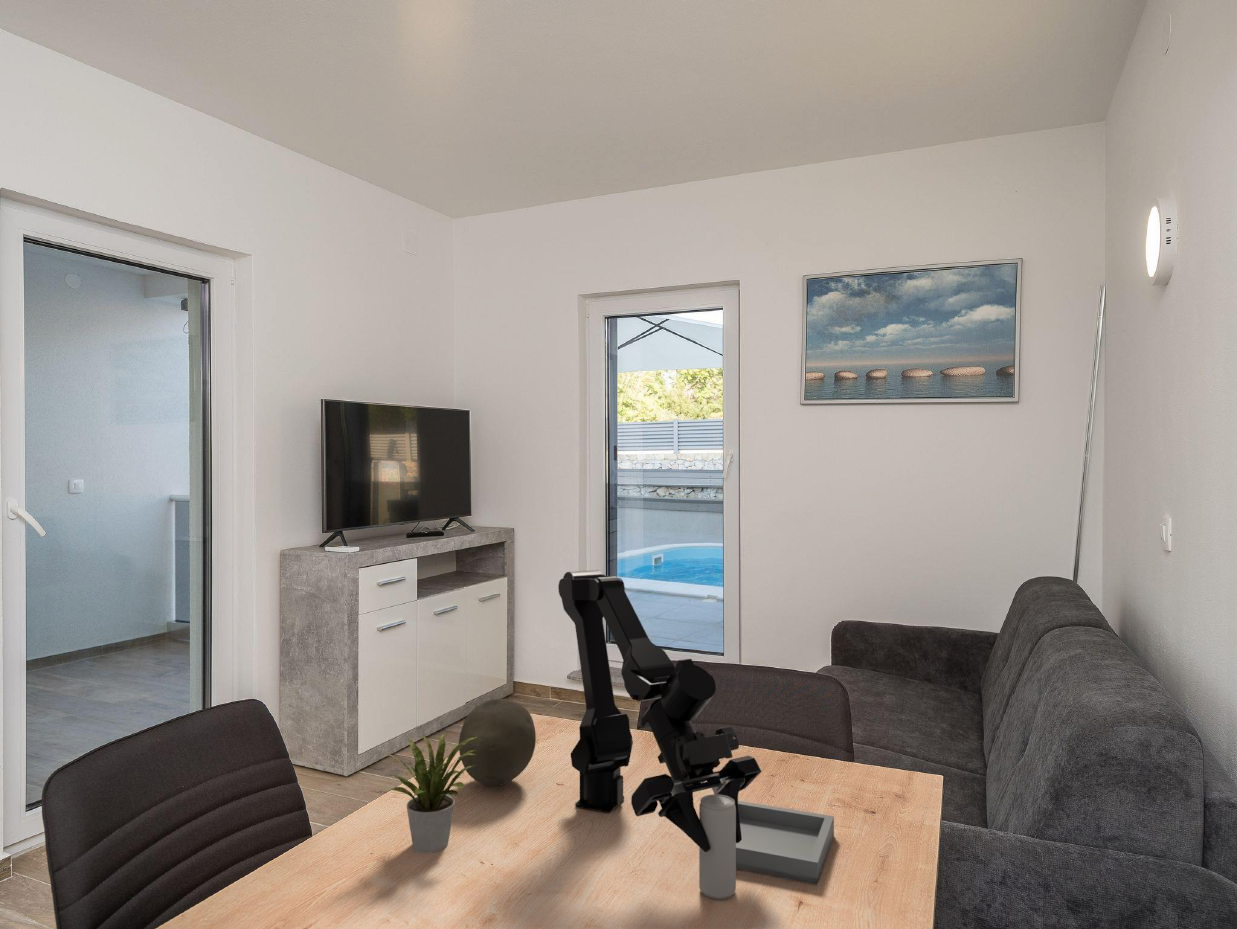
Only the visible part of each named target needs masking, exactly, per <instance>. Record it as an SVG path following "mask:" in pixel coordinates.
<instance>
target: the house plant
mask: <svg viewBox="0 0 1237 929" xmlns="http://www.w3.org/2000/svg"><path fill="white" fill-rule="evenodd" d="M421 735H422V737H423V740H424V742H425V743H426V746H427V750H428V758H429V765H428V768H427V763H426V760H425V756H424V751H425V749H424V748H423V749H422V750H421V749H420V747H418V746H417V745H416V743H415V742H414V741H413V740H412V739H409V738H407V740H408V742H409V743H408V744H409V746H410V748H411V749H410V750H411V751H412V754H413V757H414V766H412V765H410V763H409V764H408V765H409V766H408V765H407V764H406V763H405V762H404V761H403V760H402V759H400V758H398V757H396V756H394V755H392V754H390V753H385V755H387V756H389V757H392V758H394V759H395V760H397V761H398V762H400V763H401V764H402V765H403V766H404V767H405V768H406V769H407V771H408V772H409V773H410V774H411V776H412V777H413V779H414V780H415V781H416V783H417V784H418V787H417V785H415V784H414V783H412V781H410V780H408V779H407V778H404V777H403V776H400V775H396V774H394V775H393V776H394V777H395V779H398V780H399V781H400V782H401V783H402V784H403V785H404V786H406V787H407V788H409V790H408V789H407V788H405V787H402V786H396V787H393V788H391V789H390V791H394V792H395V791H396V792H400V793H403V794H405V795H407V796H409V797H410V798H411V799H410V800H409V801H408V802H407V803H406V806H405V807H406V812H407V817H408V824H409V825H408V826H409V831H410V837H411V843H412V844H411V845H412V848H413V850H414V851H416V852H419V853H424V854H426V853H436V852H439V851H442V850H444V849H445V848H447V847H448V845H449V840H450V834H451V828H452V822H453V817H454V816H453V815H454V812H455V810H454V809H455V803H456V801H455V798H454V797H452V796H450V795H455V796H457V797H460V795H459V793H458V791H457V790H455V789H451V788H452V787H453V788H454V787H456V788H459V789H461V791H464V786H465V784H464V783H463V782H462V781H458V782H456V781H457V779H459V777H460V776H461V775H462V774H463V775H465V773H464V772H466V769H468V768H470V767H472V766H468V767H466V768H462V769H461V770H456V768H457V767H458V765H459V764H460V763H461V762H462V759H463V758H464V757H465V756H466V755H477V754H472V753H470V752H473V751H475V750H471V751H468V752H466V753H464V754H463V755H461V756H460V755H459V756H458V757H457V759H456V761H455V762H453V763H452V764H451V762H452V761H453V759H454V757H455V756H456V754H457V753H458V752H459V750H460V749H461V748H462V747H463V746H464V745H465V744H466V743H467V742H468V741H470V740H472V739H475V738H477V737H473V738H469V739H466V740H464V741H463V742H461V743H460V744H459V743H458V744H457V745H456V747H455V748H454V749H453V750H451V752H450V754H449V755H448V756H446V757H444V755H445V753H446V751H449V750H448V749H446V740H445V739H446V738H445V737H446V735H445V733H444V732H443V733H442V734H441V736H440V737H439V742H438V745H437V751H436V755H434V750H433V746H432V744H431V743H430V740H428V738H427V737H426V735H424V734H423V733H422V732H421ZM446 759H447V760H446ZM445 760H446V762H445ZM450 764H451V765H450ZM449 765H450V766H449ZM453 775H454V777H453V778H452V779H451V777H452V776H453ZM450 779H451V781H450ZM449 781H450V782H449ZM448 782H449V784H448ZM447 784H448V785H447ZM410 790H411V792H410ZM412 792H413V793H412ZM413 794H414V795H413Z"/></svg>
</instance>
